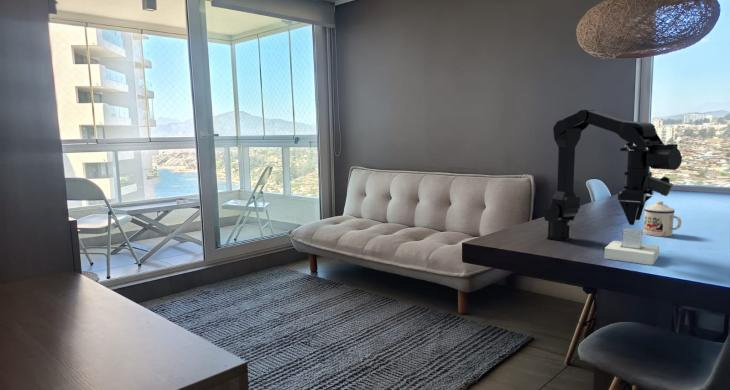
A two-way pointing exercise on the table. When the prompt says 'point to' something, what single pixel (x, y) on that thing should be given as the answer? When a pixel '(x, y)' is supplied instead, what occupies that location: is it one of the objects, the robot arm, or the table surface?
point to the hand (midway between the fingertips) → (634, 222)
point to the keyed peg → (632, 238)
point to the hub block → (632, 253)
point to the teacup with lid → (660, 220)
